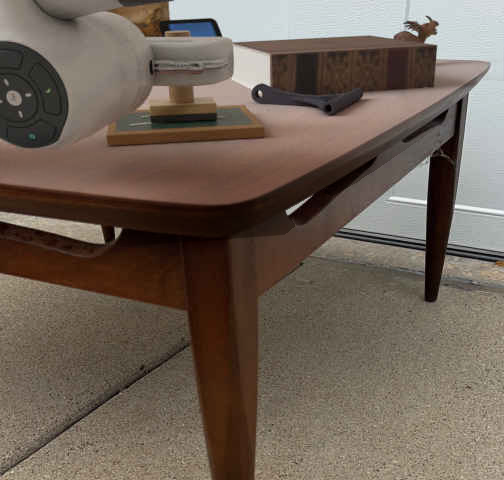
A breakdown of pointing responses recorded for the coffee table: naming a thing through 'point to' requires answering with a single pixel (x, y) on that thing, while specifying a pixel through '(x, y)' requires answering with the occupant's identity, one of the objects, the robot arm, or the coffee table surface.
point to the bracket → (305, 98)
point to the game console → (192, 27)
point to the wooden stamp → (182, 101)
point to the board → (185, 128)
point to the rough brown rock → (145, 17)
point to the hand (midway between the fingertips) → (147, 51)
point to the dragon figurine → (418, 31)
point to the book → (335, 64)
